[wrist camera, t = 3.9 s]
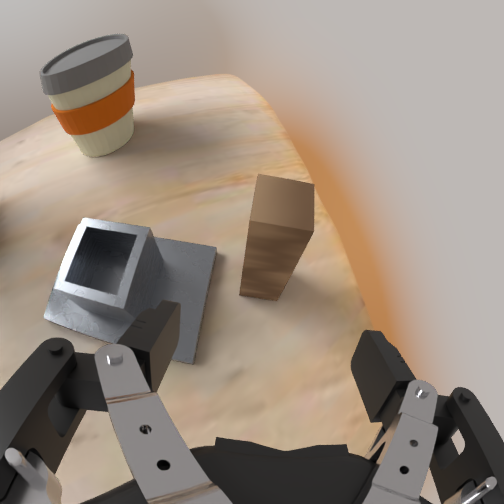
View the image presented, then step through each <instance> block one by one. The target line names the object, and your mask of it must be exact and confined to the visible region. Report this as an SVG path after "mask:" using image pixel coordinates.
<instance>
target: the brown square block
mask: <svg viewBox="0 0 504 504" xmlns="http://www.w3.org/2000/svg"><path fill="white" fill-rule="evenodd" d="M313 232H314V184H310V183H305V182H300V181H295V180H290V179H284V178H279V177H273V176H267V175H261V174H258V176H257V182H256V188H255V193H254V199H253V205H252V210H251V216H250V222H249V229H248V236H247V243H246V250H245V257H244V265H243V272H242V279H241V286H240V294H239V295H242V296H248V297H254V298H260V299H267V300H274V301H277V300H278V298H279V296H280V294H281V293H282V291H283V289H284V287H285V285H286V284H287V282H288V280H289V278H290V276H291V274H292V272H293V271H294V269H295V267H296V265H297V263H298V261H299V259H300V257H301V255H302V254H303V252H304V250H305V248H306V246H307V244H308V242H309V240H310V238H311V236H312V234H313Z"/></svg>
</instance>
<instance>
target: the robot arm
mask: <svg viewBox="0 0 504 504" xmlns="http://www.w3.org/2000/svg"><path fill="white" fill-rule="evenodd" d="M180 313H181V305H180V303H178V302H173V301H169V300H164V299H163V300H162V301H161V302H160V304H159V305H158V306H157V308H156V309H152V308H148V309H146V310H144V311H142V312H141V313H140V314H139V315H138V316H137V317H136V319H135V321H133V322H132V324H131V326H129V328H128V329H127V330H126V331H125V333H124V334H123V335H122V337H121V338H120V339H119V340H118V342H117V343H116V344H108V345H105V346H102V347H101V348H99V349H98V350H97V351H96V353H95V354H87V353H77V352H75V351H74V347H73V345H72V343H71V342H70V341H68V340H66V339H63V338H51V339H48V340H46V341H44V342H43V343H42V344H41V345H40V346H39V347H38V348H37V349H36V350H35V351H34V352H33V353H32V354H31V355H30V357H29V358H28V359H27V360H26V361H25V362H24V363H23V364H22V365H21V367H20V368H19V369H18V370H17V371H16V372H15V373H14V375H13V376H12V377H11V378H10V379H9V381H8V382H7V383H6V384H5V385H4V387H3V388H2V389H1V390H0V504H61V495H62V487H61V484H60V482H59V480H58V478H57V477H56V476H55V473H56V471H57V469H58V466H59V464H60V462H61V460H62V458H63V456H64V454H65V452H66V450H67V448H68V446H69V444H70V441H71V439H72V437H73V436H74V434H75V432H76V430H77V428H78V426H79V424H80V422H81V420H82V418H83V416H84V414H85V412H86V411H87V410H95V411H105V412H108V413H109V416H110V419H111V422H112V425H113V428H114V430H115V433H116V436H117V439H118V441H119V444H120V447H121V449H122V452H123V454H124V457H125V459H126V462H127V464H128V466H129V469H130V471H131V473H132V475H133V477H134V479H132V480H131V481H129V482H127V483H125V484H123V485H121V486H119V487H116V488H114V489H112V490H110V491H108V492H106V493H104V494H101V495H99V496H97V497H95V498H92V499H90V500H87V501H85V502H83V503H80V504H432V503H430V502H429V501H427V500H426V499H424V498H423V497H421V496H420V493H421V490H422V487H423V484H424V481H425V478H426V474H427V471H428V468H430V470H431V473H432V476H433V479H434V482H435V485H436V488H437V492H438V495H439V498H440V501H441V504H504V442H503V440H502V438H501V437H500V435H499V433H498V431H497V430H496V428H495V426H494V425H493V423H492V421H491V420H490V418H489V416H488V415H487V413H486V412H485V410H484V408H483V407H482V405H481V404H480V402H479V401H478V399H477V398H476V396H475V395H474V394H473V393H472V392H471V391H470V390H468V389H466V388H462V387H458V388H455V389H454V390H453V392H452V393H451V395H450V396H441V395H438V394H437V391H436V389H435V388H434V387H433V386H432V385H431V384H429V383H428V382H426V381H422V380H416V378H415V376H414V375H413V373H412V372H411V370H410V368H409V367H408V365H407V364H406V363H405V361H404V359H403V358H402V357H401V354H400V353H399V351H398V350H397V348H395V347H394V346H393V345H392V344H391V343H389V342H388V341H387V340H386V338H385V336H384V335H383V333H382V332H381V331H372V330H365V331H364V332H363V333H362V335H361V338H360V340H359V343H358V345H357V347H356V350H355V352H354V355H353V357H352V360H351V371H352V374H353V376H354V379H355V381H356V384H357V387H358V389H359V392H360V395H361V397H362V400H363V403H364V405H365V408H366V411H367V414H368V416H369V419H370V422H371V423H373V422H382V426H381V427H380V429H379V430H378V432H377V434H376V436H375V438H374V440H373V442H372V444H371V446H370V448H369V450H368V451H367V453H366V455H365V457H362V456H359V455H356V454H352V453H349V452H348V448H347V444H343V445H316V446H311V447H307V448H302V449H296V450H291V451H281V450H277V449H274V448H270V447H266V446H263V445H259V444H256V443H253V442H248V441H240V440H233V439H226V438H219V437H216V442H215V446H203V447H197V448H192V449H189V448H188V447H187V445H186V444H185V442H184V440H183V439H182V437H181V435H180V434H179V432H178V430H177V429H176V427H175V425H174V423H173V422H172V420H171V418H170V416H169V415H168V413H167V411H166V409H165V407H164V405H163V403H162V401H161V400H160V398H159V396H158V394H157V393H156V392H157V390H158V388H159V386H160V383H161V381H162V379H163V377H164V374H165V372H166V370H167V368H168V365H169V363H170V361H171V359H172V357H173V354H174V352H175V350H176V348H177V345H178V341H179V335H180ZM458 429H459V430H460V432H461V434H462V436H463V438H464V441H465V448H464V450H463V452H462V453H461V454H460V455H459V454H458V452H457V450H456V447H455V445H454V443H453V441H452V439H451V437H452V436H453V435H454V434H455V432H456V431H457V430H458Z"/></svg>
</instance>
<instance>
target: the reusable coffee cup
mask: <svg viewBox="0 0 504 504" xmlns="http://www.w3.org/2000/svg"><path fill="white" fill-rule="evenodd" d="M132 56H133V53H132V49H131V46H130V42H129V38H128V36H127V35H125V34H113V35H107V36H102V37H98V38H95V39H92V40H89V41H86V42H83V43H81V44H78V45H76V46H74V47H72V48H70V49H68V50H66V51H65V52H62V53H61V54H59V55H58V56H56V57H54V58H53V59H52V60H50V61H49V62H48V63H47V64H46V65H45V66H44V67H43V68H42V69H41V71H40V79H41V84H42V88H43V92H44V93H45V94H46V95H48V97H49V98H50V100H51V102H52V105H51V107H52V110H53V112H54V114H55V115H56V117H57V119H58V120H59V122H60V124H61V125H62V127H63V129H64V130H65V131H66V133H68V134H70V135H71V136H72V138H73V139H74V141H75V143H76V144H77V146H78V147H79V149H80V150H81V152H82V153H83V154H84V155H86V156H89V157H99V156H103V155H107V154H109V153H112V152H114V151H116V150H117V149H119V148H121V147H122V146H123V145H124V144H126V143H127V142H128V141H129V140H130V138H131V137H132V135H133V132H134V123H133V109H132V107H133V105H134V102H135V93H134V73H133V71H132V70H131V58H132Z"/></svg>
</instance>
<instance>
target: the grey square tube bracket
mask: <svg viewBox="0 0 504 504" xmlns="http://www.w3.org/2000/svg"><path fill="white" fill-rule="evenodd" d="M216 253H217V249H216V247H212V246H206V245H200V244H194V243H188V242H182V241H176V240H170V239H164V238H157V237H154V236H153V234H152V231H151V229H150V227H143V226H137V225H130V224H124V223H117V222H110V221H104V220H97V219H90V218H84V217H83V219H82V221H81V223H80V225H78V227H77V229H76V231H75V233H74V236H73V238H72V240H71V242H70V245H69V247H68V250H67V252H66V254H65V257H64V259H63V262H62V264H61V267H60V270H59V272H58V275H57V278H56V280H55V283H54V286H53V289H52V292H51V295H50V298H49V301H48V304H47V308H46V311H45V314H44V318H45V319H46V320H48V321H51V322H53V323H56V324H58V325H61V326H63V327H66V328H68V329H71V330H74V331H77V332H79V333H82V334H85V335H88V336H91V337H94V338H97V339H100V340H103V341H106V342H109V343H112V344H116V343H117V342H118V340H119V339H120V338H121V337H122V335H123V334H124V333H125V331H126V330H127V329H128V328H129V326H131V324H132V322H133V321H135V319H136V317H137V316H138V315H139V314H140V313H141V312H142V311H144V310H146V309H148V308H152V309H156V308H157V306H158V305H159V304H160V302H161V301H162V300H163V299H164V300H169V301H173V302H178V303H180V305H181V313H180V335H179V341H178V345H177V348H176V350H175V352H174V354H173V357H172V359H171V360H175V361H180V362H184V363H189V364H194V361H195V355H196V350H197V345H198V339H199V334H200V329H201V324H202V319H203V314H204V309H205V304H206V299H207V294H208V290H209V285H210V280H211V276H212V271H213V266H214V262H215V257H216Z"/></svg>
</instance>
